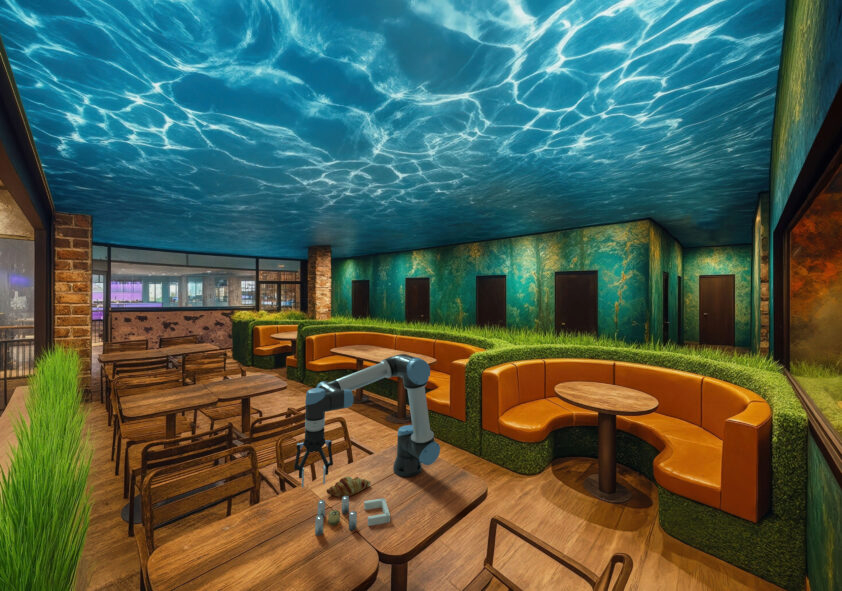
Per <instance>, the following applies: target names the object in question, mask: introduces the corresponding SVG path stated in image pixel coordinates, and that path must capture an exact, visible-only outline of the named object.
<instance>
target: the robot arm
mask: <svg viewBox="0 0 842 591" xmlns="http://www.w3.org/2000/svg"><path fill="white" fill-rule="evenodd" d="M392 377H399V378H402V384H403V387H404V389H406V390H407V396H408V403H409V405H408V406H409V411H410V416H411V417H410V419H411V424H408V425H402V426H401V427H398V429H397V434H396V436H397V443H396V444H397V445H396V448H397V449H396V452H397V453H396V458H395V459H394V462H393V469H392V470H393V472H394V474H396V475H397V476H399V477H404V478H412V477H413V478H414V477H416V476H419V475H420V474H421V473H422V471H421V470H422V468H423V466H422V465H425V466H429V465H432V464H434V463H435V462H436V461H437V459H438V457H439V456H440V453H441V446H440V444H439V443H438V442H437V441H435V440H436V439H435V435H434V434H435V433H434V431H433V430H431V425H430V418H429V409H428V401H427V395H426V386H427V385H428V381H429V379H430V378H429V377H431V368H430V365H429V363H428V362H427V361H426V360H424V359H423V358H420V357H418V356H417V357H416V356H412V355H409V354H406V353H400V354H396V355H392V356H389V357H386V358H384V359H381V360H380V362H379V363H377V364H374V365H370V366H368V367H366V368H363V369H361V370H359V371H356V372H353V373H349V374H347V375H344V376H342V377H340V378H337V379H335V380H332V381H320V382H319V383H318V384H317V385H316V387H315V388H311V389H308V390H307V391H306V394H305V401H304V402H305V419H304V420H305V421H304V428H305V429H304V440H303V442H297V443H296V455H295V461H294V466H293V467H294V468H293V469H294V471H298V478H299V479H301V488H304V487H305V485H304V484H305V467H304V466H305V464H306V462H307V460H308V458H309V455H310V453H313V452H316V453H317V452H318V453H319V456H320V457H321V460H322V462H323V465H322V466H323V467H322V468H323V469H322V473H323V474H322V484H323V485H326V476H328V475H329V467H331V466H333V465H334V460H333V454H332V452H333V451H332V446H333V445H332V444H333V442H332V441H333V440H332V439H328V440H327V439H326V438H325V425H326V423H325V419H326V418H325V417H326V413H327V412H328V413H329V412H331V411H332V412H333V411H337V410H342V409H347V408H350V407H352V406H353V404H354V393H353V391H355V390H357V389H361V388H362V387H366V386H367V385H369V384H372V383H375V382H377V381H380V380H383V379H384V378H386V379H390V378H392ZM325 445H326V447H327V452H328V459H329V460H328V459H327V457H326V455H325V453H324V449H323V447H324V446H325ZM303 447H304V448H305V449H306V450H305V453H304V454H303V457H302V459H301V461H300V457H301V450H302V449H303Z"/></svg>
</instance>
